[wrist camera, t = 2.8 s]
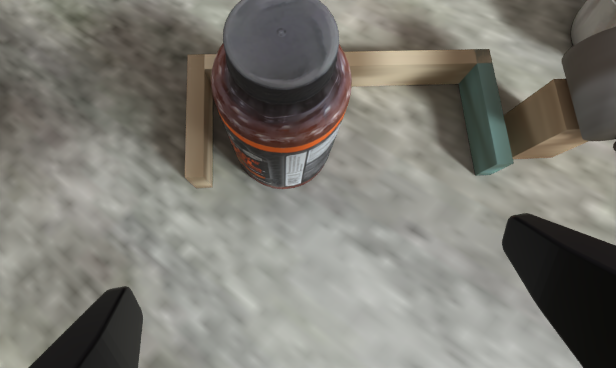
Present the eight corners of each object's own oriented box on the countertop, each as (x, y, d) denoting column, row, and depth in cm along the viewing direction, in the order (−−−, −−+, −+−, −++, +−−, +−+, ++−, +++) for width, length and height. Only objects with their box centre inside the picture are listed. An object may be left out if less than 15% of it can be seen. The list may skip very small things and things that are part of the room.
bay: (196, 188, 22) (184, 177, 19) (197, 77, 24) (187, 54, 21) (489, 174, 23) (513, 163, 21) (469, 70, 25) (489, 49, 23)
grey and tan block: (509, 181, 23) (639, 127, 15) (494, 108, 24) (605, 20, 16) (560, 178, 23) (718, 124, 15) (543, 107, 25) (679, 19, 16)
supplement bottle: (218, 140, 23) (154, 15, 12) (290, 89, 24) (293, -68, 13) (275, 211, 22) (264, 148, 11) (347, 154, 23) (403, 45, 12)
